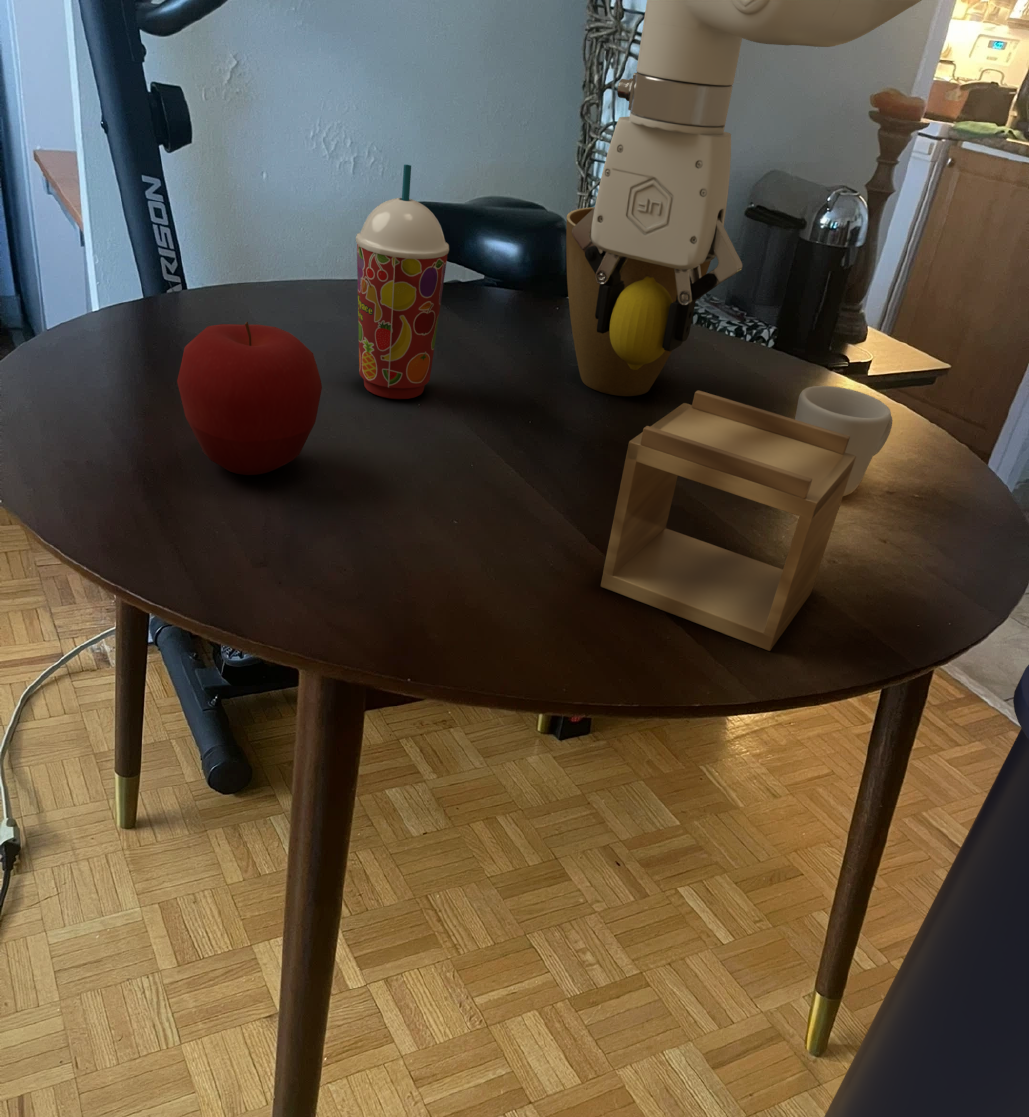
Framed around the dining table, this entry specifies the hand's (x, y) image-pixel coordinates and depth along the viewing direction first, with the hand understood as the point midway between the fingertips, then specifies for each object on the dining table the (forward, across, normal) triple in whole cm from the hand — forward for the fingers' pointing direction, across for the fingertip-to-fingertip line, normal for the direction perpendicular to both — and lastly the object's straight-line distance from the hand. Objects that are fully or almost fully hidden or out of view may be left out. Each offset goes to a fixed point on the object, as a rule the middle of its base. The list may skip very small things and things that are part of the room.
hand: (639, 336), depth 93 cm
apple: (+10, -21, -27) cm, 35 cm away
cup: (+11, +18, +7) cm, 22 cm away
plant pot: (+10, -8, +15) cm, 20 cm away
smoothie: (+10, -23, -4) cm, 25 cm away
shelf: (+11, +16, -20) cm, 28 cm away
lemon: (+3, 0, 0) cm, 3 cm away
